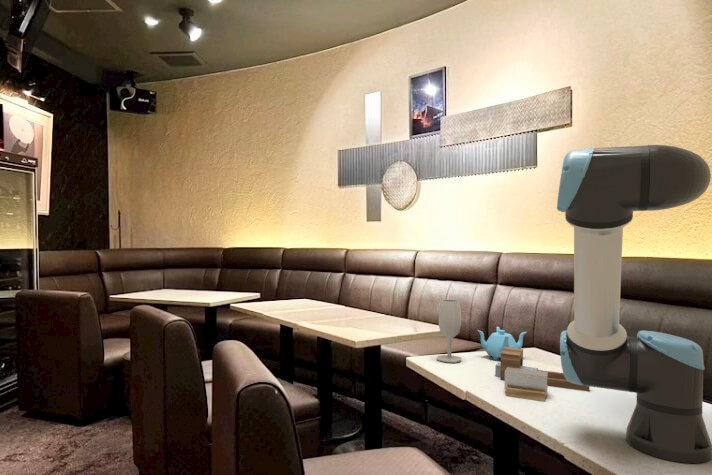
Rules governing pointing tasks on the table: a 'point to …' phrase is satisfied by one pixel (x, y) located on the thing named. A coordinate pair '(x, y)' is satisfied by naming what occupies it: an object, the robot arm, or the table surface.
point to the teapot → (500, 342)
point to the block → (526, 379)
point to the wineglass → (449, 326)
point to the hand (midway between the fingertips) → (599, 299)
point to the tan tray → (525, 394)
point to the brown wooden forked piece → (555, 379)
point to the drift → (498, 368)
